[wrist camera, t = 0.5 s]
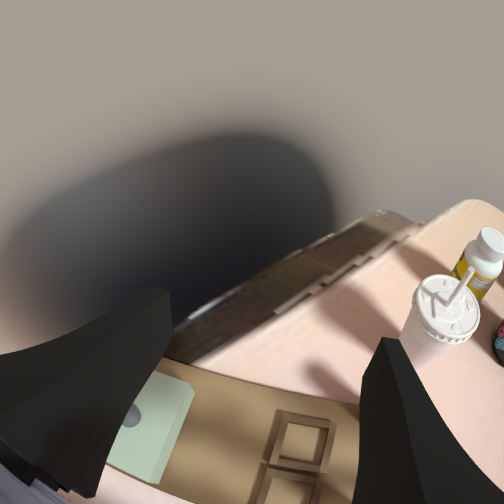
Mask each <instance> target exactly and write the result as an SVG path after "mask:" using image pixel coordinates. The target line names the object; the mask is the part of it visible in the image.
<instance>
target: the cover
mask: <svg viewBox="0 0 504 504" xmlns="http://www.w3.org/2000/svg"><path fill="white" fill-rule="evenodd" d="M194 395H195V393H194V391H193V389H192V387H191V385H190V383H188V382H185V381H182V380H179V379H176V378H173V377H171V376H168V375H165V374H162V373H159V372H157V371H153V373H152V374H151V376H150V377H149V379H148V380H147V382H146V383H145V385H144V387H143V388H142V390H141V391H140V393H139V394H138V396H137V397H136V399H135V400H134V402H133V404H132V406H131V407H130V409H129V411H128V413H127V415H126V417H125V419H124V421H123V423H122V425H121V427H120V429H119V432H118V434H117V436H116V439H115V441H114V443H113V446H112V448H111V450H110V453H109V456H108V458H107V461H106V462H108V463H110V464H112V465H113V466H115V467H117V468H119V469H121V470H123V471H125V472H127V473H129V474H131V475H133V476H136V477H138V478H140V479H142V480H144V481H146V482H149V483H155V484H159V482H160V480H161V477H162V475H163V472H164V470H165V467H166V465H167V462H168V460H169V457H170V455H171V452H172V450H173V447H174V445H175V442H176V440H177V437H178V435H179V432H180V430H181V427H182V425H183V422H184V420H185V417H186V415H187V412H188V410H189V407H190V405H191V402H192V400H193V397H194Z"/></svg>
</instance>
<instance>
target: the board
mask: <svg viewBox="0 0 504 504" xmlns="http://www.w3.org/2000/svg"><path fill="white" fill-rule="evenodd" d="M154 371H157V372H159V373H162V374H165V375H168V376H171V377H173V378H176V379H179V380H182V381H185V382H188V383H190V385H191V387H192V389H193V391H194V393H195V395H194V397H193V400H192V402H191V405H190V407H189V410H188V412H187V415H186V417H185V420H184V422H183V425H182V427H181V430H180V432H179V435H178V437H177V440H176V442H175V445H174V447H173V450H172V452H171V455H170V457H169V460H168V462H167V465H166V467H165V470H164V472H163V475H162V477H161V480H160V482H159V484H155V483H149V482H146V481H144V480H142V479H140V478H138V477H136V476H133V475H131V474H129V473H127V472H125V471H123V470H121V469H119V468H117V467H115V466H113V465H112V464H110V463H108V462H106V465H108V466H110V467H112V468H114V469H116V470H118V471H120V472H121V473H123V474H125V475H128V476H130V477H132V478H134V479H136V480H138V481H140V482H142V483H145V484H147V485H149V486H151V487H154V488H156V489H158V490H161V491H163V492H166V493H168V494H171V495H173V496H176V497H178V498H181V499H184V500H186V501H189V502H192V503H195V504H351V502H352V498H353V493H354V488H355V483H356V477H357V471H358V461H359V420H360V405H357V404H350V403H344V402H338V401H332V400H326V399H320V398H315V397H310V396H305V395H300V394H295V393H290V392H285V391H281V390H276V389H272V388H268V387H264V386H259V385H255V384H251V383H247V382H244V381H240V380H236V379H232V378H229V377H225V376H221V375H218V374H214V373H211V372H208V371H204V370H201V369H198V368H194V367H191V366H188V365H185V364H182V363H179V362H176V361H173V360H170V359H167V358H164V357H162V358H161V360H160V362H159V363H158V365H157V366H156V368H155V369H154Z"/></svg>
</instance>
